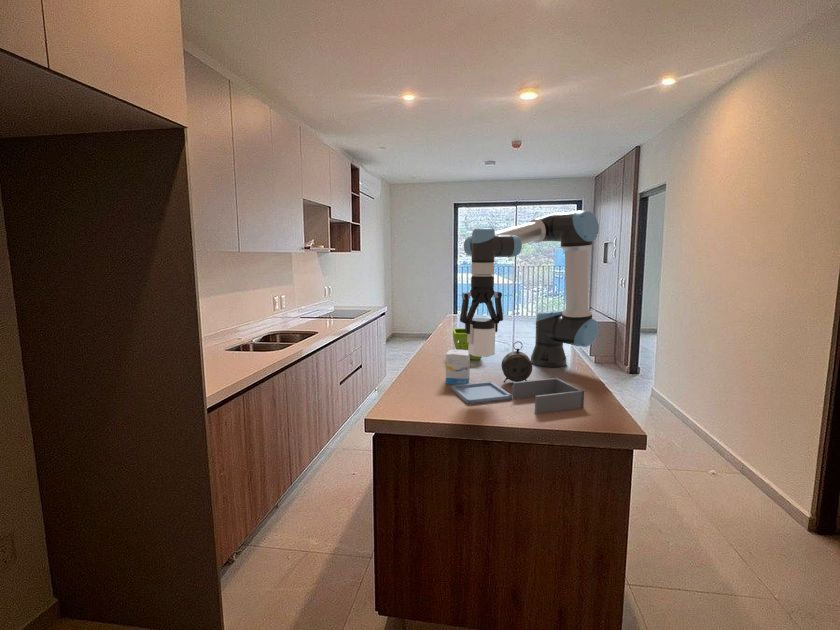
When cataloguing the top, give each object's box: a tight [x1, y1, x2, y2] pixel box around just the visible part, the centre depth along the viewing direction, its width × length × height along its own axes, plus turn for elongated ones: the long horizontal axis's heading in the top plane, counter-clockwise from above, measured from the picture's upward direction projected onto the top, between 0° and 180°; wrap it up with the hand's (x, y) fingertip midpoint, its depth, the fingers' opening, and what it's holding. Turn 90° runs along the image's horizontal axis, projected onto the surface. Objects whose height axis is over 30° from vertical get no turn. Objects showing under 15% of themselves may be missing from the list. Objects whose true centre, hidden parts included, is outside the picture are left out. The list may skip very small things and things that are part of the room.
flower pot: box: [452, 327, 482, 361], centre depth 201 cm, size 14×14×13 cm
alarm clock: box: [501, 341, 533, 383], centre depth 161 cm, size 11×5×16 cm, turn 86°
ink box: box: [445, 348, 471, 385], centre depth 164 cm, size 9×8×12 cm
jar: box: [468, 317, 496, 358], centre depth 148 cm, size 9×8×12 cm
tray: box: [450, 381, 513, 406], centre depth 151 cm, size 16×16×2 cm
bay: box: [512, 377, 585, 415], centre depth 142 cm, size 17×15×6 cm
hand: (481, 342), depth 148 cm, fingers closed on jar, 8 cm apart
